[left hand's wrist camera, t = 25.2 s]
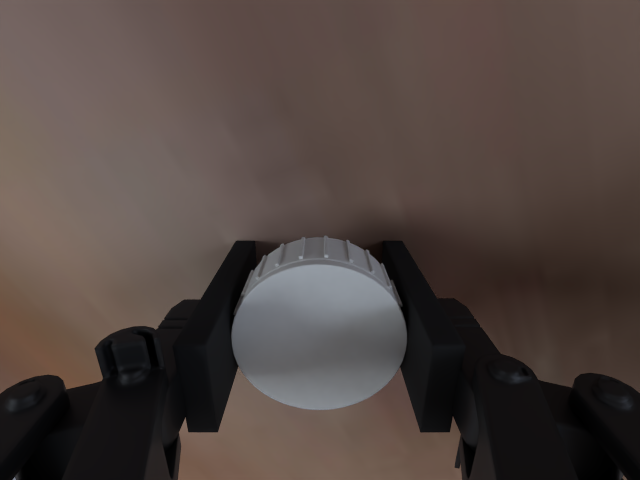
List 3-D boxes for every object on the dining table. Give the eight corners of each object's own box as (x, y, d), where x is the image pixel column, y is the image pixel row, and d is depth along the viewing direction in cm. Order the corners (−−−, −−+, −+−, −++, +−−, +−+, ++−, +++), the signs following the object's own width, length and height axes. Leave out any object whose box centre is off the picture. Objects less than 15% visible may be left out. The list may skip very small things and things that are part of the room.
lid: (299, 201, 11) (295, 224, 9) (428, 290, 12) (448, 327, 10) (215, 319, 13) (195, 360, 11) (335, 387, 14) (337, 436, 12)
